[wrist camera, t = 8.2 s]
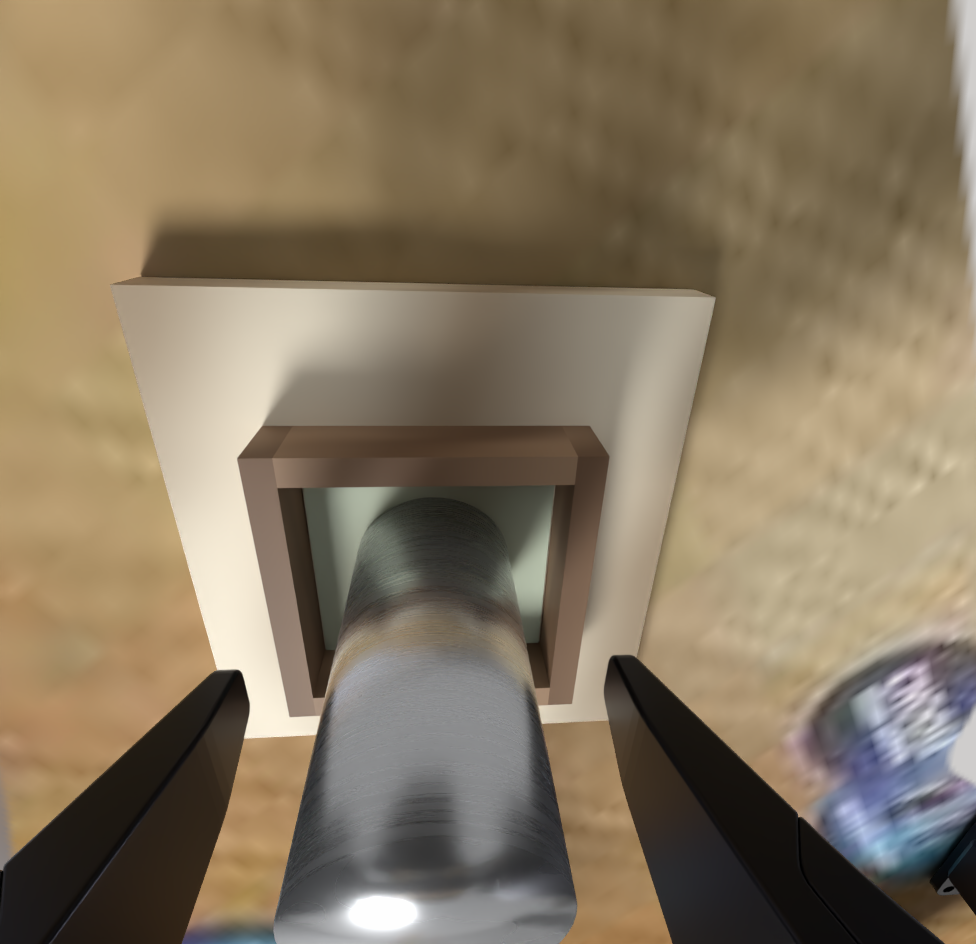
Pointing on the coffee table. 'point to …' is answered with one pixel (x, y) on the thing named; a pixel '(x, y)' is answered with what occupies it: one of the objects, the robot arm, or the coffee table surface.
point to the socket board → (414, 456)
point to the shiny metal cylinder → (429, 754)
